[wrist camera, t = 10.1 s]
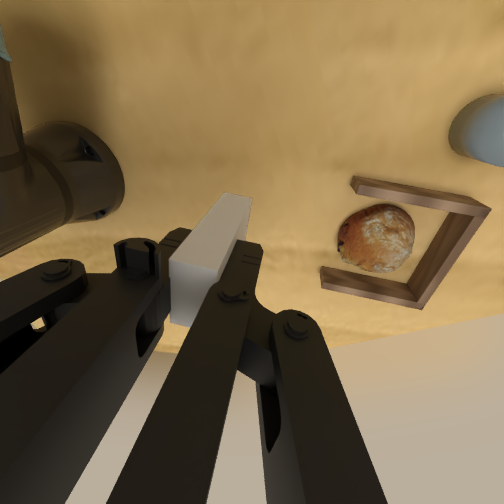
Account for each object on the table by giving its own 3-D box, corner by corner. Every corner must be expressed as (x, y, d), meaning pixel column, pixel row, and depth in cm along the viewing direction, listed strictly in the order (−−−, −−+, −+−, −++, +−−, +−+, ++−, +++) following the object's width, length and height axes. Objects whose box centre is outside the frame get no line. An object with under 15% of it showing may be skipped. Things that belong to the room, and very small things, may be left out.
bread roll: (389, 248, 42) (431, 269, 35) (335, 270, 41) (367, 296, 34) (386, 192, 37) (434, 203, 30) (326, 215, 36) (361, 232, 29)
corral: (319, 271, 42) (321, 288, 38) (353, 175, 34) (359, 184, 30) (410, 291, 41) (421, 310, 37) (469, 196, 32) (491, 208, 29)
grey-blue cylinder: (437, 151, 31) (467, 161, 25) (468, 90, 27) (510, 86, 22) (491, 160, 30) (534, 172, 25) (529, 99, 27) (589, 97, 21)
